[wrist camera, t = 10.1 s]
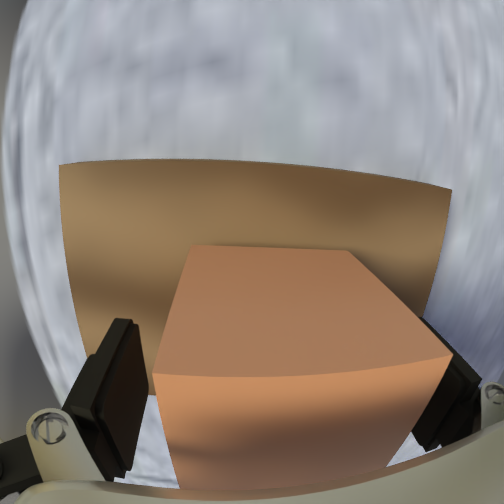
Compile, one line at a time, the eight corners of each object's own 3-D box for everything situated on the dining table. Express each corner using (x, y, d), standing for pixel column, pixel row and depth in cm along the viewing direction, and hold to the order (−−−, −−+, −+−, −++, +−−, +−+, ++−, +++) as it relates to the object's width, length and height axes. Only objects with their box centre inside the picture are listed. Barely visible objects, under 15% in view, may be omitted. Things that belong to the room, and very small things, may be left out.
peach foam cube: (191, 244, 11) (151, 372, 4) (347, 250, 11) (453, 354, 5) (195, 370, 13) (184, 503, 6) (322, 368, 13) (369, 486, 7)
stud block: (79, 162, 12) (-66, 194, 4) (429, 184, 14) (564, 228, 6) (105, 366, 16) (59, 486, 8) (383, 365, 18) (447, 464, 9)
